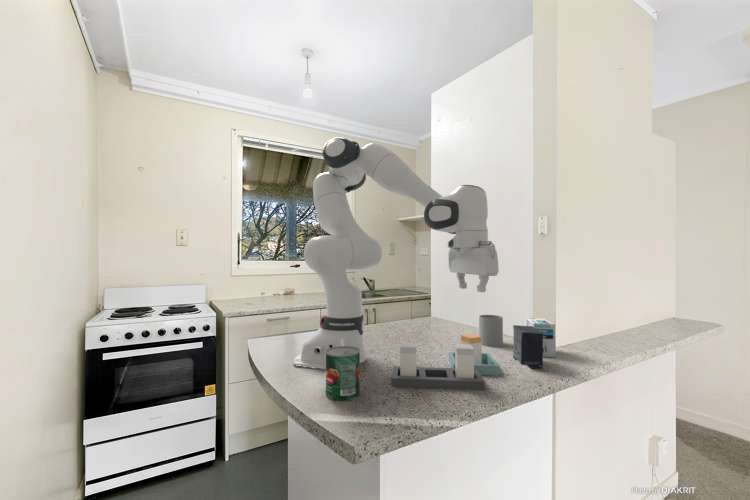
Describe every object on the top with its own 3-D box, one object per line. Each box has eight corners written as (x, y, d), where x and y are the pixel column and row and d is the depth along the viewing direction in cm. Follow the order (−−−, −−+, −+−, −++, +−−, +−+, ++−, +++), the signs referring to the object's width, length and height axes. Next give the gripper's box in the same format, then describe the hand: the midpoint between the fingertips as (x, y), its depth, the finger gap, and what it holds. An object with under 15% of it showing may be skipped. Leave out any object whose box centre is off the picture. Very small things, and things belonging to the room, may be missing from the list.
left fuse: (400, 382, 86) (400, 346, 86) (400, 377, 90) (400, 342, 90) (416, 383, 85) (416, 347, 86) (416, 377, 89) (416, 343, 90)
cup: (476, 344, 126) (475, 317, 126) (483, 339, 133) (482, 314, 133) (499, 348, 121) (499, 319, 121) (505, 343, 128) (505, 316, 128)
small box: (544, 369, 99) (544, 332, 99) (520, 368, 100) (520, 332, 100) (533, 358, 109) (533, 325, 109) (512, 357, 110) (512, 324, 111)
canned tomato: (318, 399, 79) (318, 351, 79) (342, 388, 85) (342, 344, 85) (343, 409, 74) (342, 357, 74) (367, 397, 80) (366, 349, 80)
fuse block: (391, 390, 84) (391, 378, 84) (393, 377, 93) (393, 366, 93) (484, 394, 81) (484, 381, 81) (477, 380, 90) (477, 368, 90)
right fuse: (457, 385, 84) (457, 348, 84) (455, 379, 88) (455, 344, 88) (474, 385, 84) (473, 348, 84) (471, 379, 88) (471, 344, 88)
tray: (453, 377, 92) (453, 364, 92) (448, 363, 104) (448, 351, 104) (499, 379, 91) (499, 365, 91) (489, 364, 103) (489, 353, 103)
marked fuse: (470, 370, 95) (470, 338, 95) (461, 366, 99) (460, 335, 99) (481, 368, 97) (481, 336, 97) (471, 364, 101) (471, 333, 101)
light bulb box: (556, 357, 110) (556, 324, 110) (533, 356, 111) (533, 323, 111) (546, 348, 120) (546, 318, 120) (526, 347, 122) (525, 317, 122)
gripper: (504, 240, 89) (504, 293, 89) (462, 242, 109) (462, 286, 108) (483, 240, 87) (483, 294, 87) (444, 242, 107) (444, 287, 107)
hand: (471, 290), depth 98 cm, fingers open, 8 cm apart
